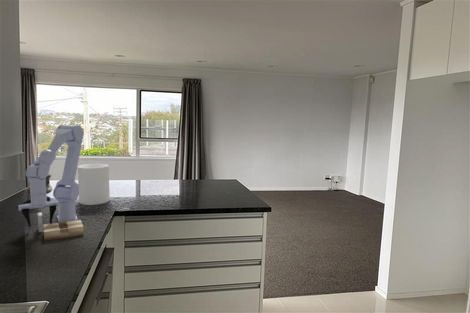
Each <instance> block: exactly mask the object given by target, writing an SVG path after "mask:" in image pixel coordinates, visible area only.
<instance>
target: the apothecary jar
mask: <svg viewBox="0 0 470 313" xmlns="http://www.w3.org/2000/svg"><path fill="white" fill-rule="evenodd" d="M51 177H52V172H51V171H50V170H49V174H48V176H47V177H46V194H47V201H48V200H51V197H50V196H48V194H50V193H52V192H53V187H52V185H51V183H50V178H51ZM27 193H28V194H30V186H29V187H28V188H27Z"/></svg>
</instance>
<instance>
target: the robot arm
mask: <svg viewBox="0 0 470 313" xmlns="http://www.w3.org/2000/svg"><path fill="white" fill-rule="evenodd" d="M84 133H85V132H84V129H83V127H82V126H81V125H80V124H75V125H74V124H59V125H58V126H57V128H56V129H55V136H54V137H53V139H52V140H51V143H50V144H49V146H47V147H48V148H47V149H44V150H42V151H41V152H40V153H39V156H38V157H37V158H36V160H35V161H34V162H33V164H30V165H28V167H27V168H26V170H25V176H26V177H27V180H28V182H29V187H30V193H29V195H30V203H25V204H18V211H19V212H20V211H21V214H22V215H23V217H24V218H25V220H26V222H27V226H28V227H29V228H31V227H32V225H31V217H30V210H33V209H43V208H49V224H51V223H53V219H54V215H55V212H56V210H57V209H58V210H57V211H58V215H57V216H56V218H57V223H59V222H66V221H73V220H79V219H78V217H77V216H78V215H77V213H76V211H77V209H76V201H77V199H79V185H78V181H76V175H77V172H78V166H79V160H80V154H81V150H82V143H83V140H84V139H83V138H84ZM64 143H65V144H67V151H66V152H67V153H66V157H65V162H64V167H63V170H62V171H63V172H62V177H61V179H60V180H59V181H56V184H55V187H54V189H53V190H52V196H53V197H54V198H55V200H53V201H52V200H50V201H48V200H47V196H48V194H46V177H47V176H48V174H49V171H50V168H51V165H52V164H53V162H54V161H55V160H56V158H57V155H56V153H57V152H58V150H60V149H61V147H62V146H63V145H64Z"/></svg>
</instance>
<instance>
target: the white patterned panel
mask: <svg viewBox="0 0 470 313" xmlns="http://www.w3.org/2000/svg"><path fill="white" fill-rule="evenodd" d="M122 208H123V209H128V210H129V209H130V207H122ZM123 209H120V210H117V211H118V212H124V211H125V210H123Z"/></svg>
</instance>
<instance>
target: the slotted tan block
mask: <svg viewBox="0 0 470 313" xmlns="http://www.w3.org/2000/svg"><path fill="white" fill-rule="evenodd" d="M84 230H85V229H84V225H83V222H82V220H81V219H78V220H72V221H64V222H52V223H51V224H50V223H45V224H43V239H44V241H45V242H47V241H53V240H58V239H64V238H71V237H77V236H78V237H79V236H84V234H85V233H84Z"/></svg>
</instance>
